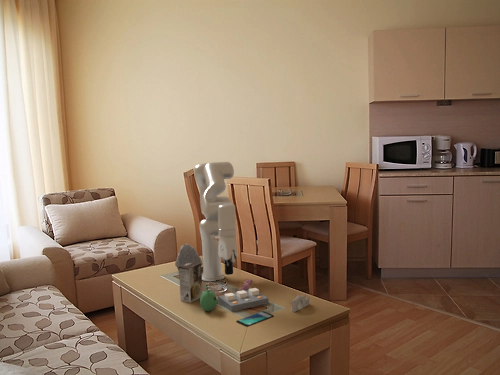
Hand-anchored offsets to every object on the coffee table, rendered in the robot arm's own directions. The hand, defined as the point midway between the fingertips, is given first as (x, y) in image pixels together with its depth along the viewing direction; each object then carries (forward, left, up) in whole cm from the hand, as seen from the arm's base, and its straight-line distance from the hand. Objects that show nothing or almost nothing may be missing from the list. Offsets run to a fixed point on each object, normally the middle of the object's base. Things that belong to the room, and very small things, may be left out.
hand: (229, 273), depth 203 cm
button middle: (-1, +6, -12) cm, 14 cm away
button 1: (-1, 0, -12) cm, 12 cm away
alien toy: (+1, -10, -14) cm, 18 cm away
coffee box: (-17, -12, -14) cm, 25 cm away
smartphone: (+19, +2, -15) cm, 24 cm away
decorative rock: (-61, +3, -14) cm, 62 cm away
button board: (0, +6, -14) cm, 15 cm away
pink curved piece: (-12, +14, -14) cm, 23 cm away
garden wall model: (+19, +24, -14) cm, 34 cm away
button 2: (-1, +12, -12) cm, 17 cm away
